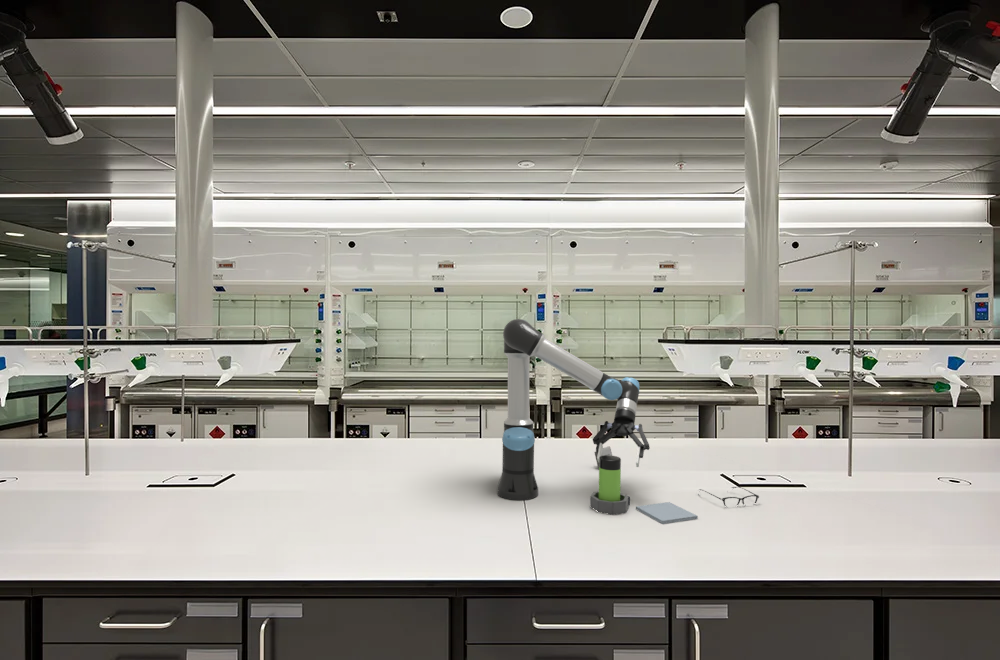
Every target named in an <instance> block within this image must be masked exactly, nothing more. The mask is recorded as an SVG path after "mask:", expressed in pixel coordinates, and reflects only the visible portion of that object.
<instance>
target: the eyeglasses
mask: <svg viewBox="0 0 1000 660" xmlns="http://www.w3.org/2000/svg"><path fill="white" fill-rule="evenodd" d="M732 488H733V489H736V488H737V486H733V487H732ZM738 488H740V489H742V490H744V491H747V492H748V493H750V494H751V495H746V496H743V497H737V496H728V497H722V498H721V497H718V496H716V495H715V494H712V493H711V492H708V491H706V490H704V489H699V490H700V491H702V492H705V493H707V494H709V495H711V496H713V497H715V498H717V499H719V500H720V501H722V502H723V505H724V507H725V506H726V507H727V505H726V500H727V499H737V500H738V501H737V504H736V505H738V506H739V504H740V502H741V504H743V505H744V504H745V501H744V500H745V499H746V498H749V497H750V498H751V497H755V501H754V503H756V504H757V502H758V499H759V498H760V496H759V495H758V494H755V493H753V492H751V491H750V490H748V489H746V488H744V487H740V486H738Z"/></svg>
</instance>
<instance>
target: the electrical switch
mask: <svg viewBox="0 0 1000 660" xmlns="http://www.w3.org/2000/svg"><path fill="white" fill-rule="evenodd" d="M593 452H594V456H595V460H596V465H597V469H598V471H599V462H598V461H597V455H598V453H597V452H596V451H593ZM605 455H610V456H613V452H612V448H611V446H605V447H603V450H602V455H601V456H605Z"/></svg>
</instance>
